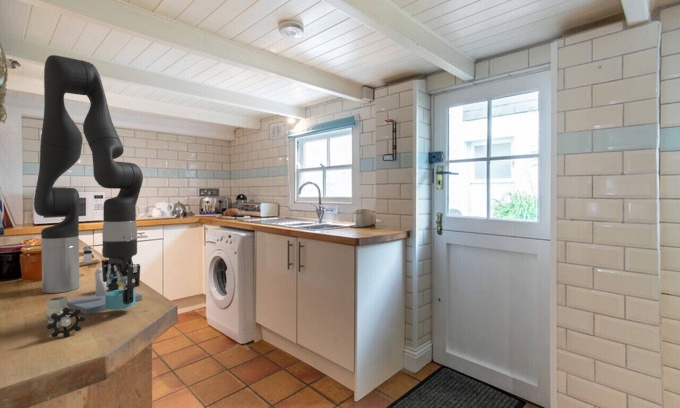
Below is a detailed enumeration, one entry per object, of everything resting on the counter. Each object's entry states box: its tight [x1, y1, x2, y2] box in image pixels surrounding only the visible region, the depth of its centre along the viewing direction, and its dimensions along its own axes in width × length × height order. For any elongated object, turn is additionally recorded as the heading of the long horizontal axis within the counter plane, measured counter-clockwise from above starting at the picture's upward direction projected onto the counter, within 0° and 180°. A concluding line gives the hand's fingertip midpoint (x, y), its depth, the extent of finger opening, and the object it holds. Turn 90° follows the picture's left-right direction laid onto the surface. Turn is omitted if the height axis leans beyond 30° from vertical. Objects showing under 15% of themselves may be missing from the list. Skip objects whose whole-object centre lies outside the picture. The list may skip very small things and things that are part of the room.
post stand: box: [67, 266, 143, 316], centre depth 93 cm, size 12×14×10 cm
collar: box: [106, 288, 136, 311], centre depth 86 cm, size 6×6×4 cm
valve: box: [45, 295, 86, 339], centre depth 75 cm, size 7×7×12 cm
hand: (120, 300), depth 86 cm, fingers closed on collar, 6 cm apart
